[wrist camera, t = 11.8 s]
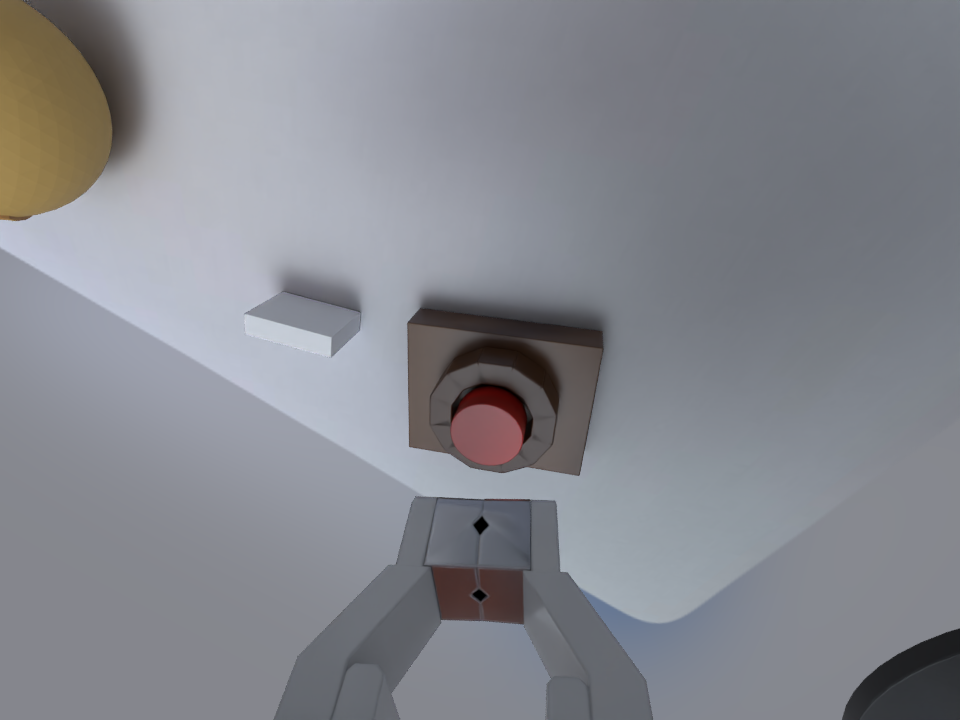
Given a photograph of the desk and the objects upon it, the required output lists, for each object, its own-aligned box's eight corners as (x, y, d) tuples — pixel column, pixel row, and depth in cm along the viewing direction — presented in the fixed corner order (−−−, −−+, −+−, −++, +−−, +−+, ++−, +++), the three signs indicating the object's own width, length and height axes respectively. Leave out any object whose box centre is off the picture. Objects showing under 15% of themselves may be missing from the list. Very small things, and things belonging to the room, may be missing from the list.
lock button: (530, 391, 24) (526, 410, 23) (523, 450, 26) (519, 471, 24) (459, 381, 25) (450, 398, 23) (457, 439, 26) (448, 459, 25)
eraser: (282, 290, 28) (243, 313, 25) (361, 311, 28) (331, 337, 25) (282, 310, 29) (244, 335, 26) (359, 330, 29) (330, 358, 25)
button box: (602, 330, 26) (604, 364, 22) (580, 452, 29) (578, 498, 26) (419, 307, 27) (394, 336, 24) (420, 426, 31) (398, 466, 27)
